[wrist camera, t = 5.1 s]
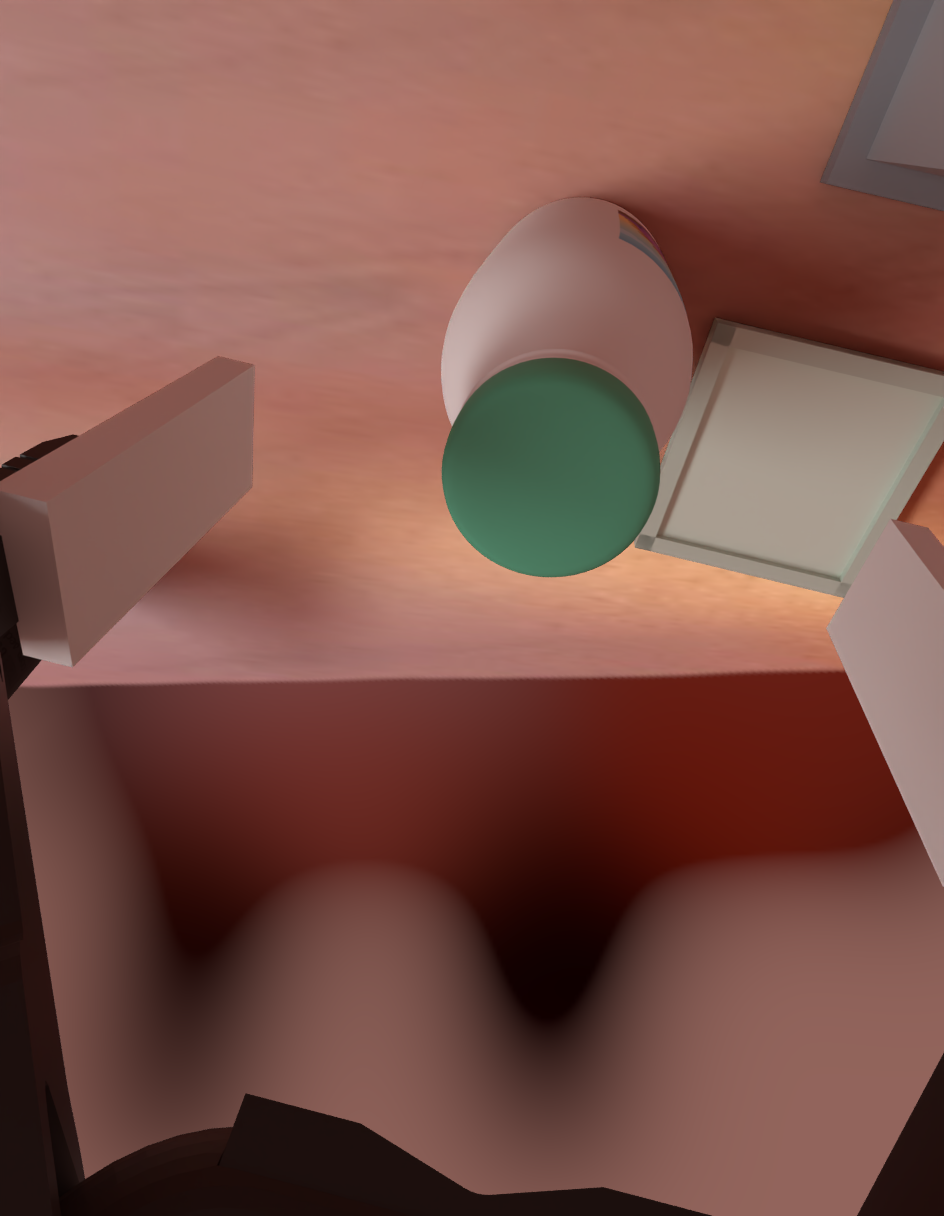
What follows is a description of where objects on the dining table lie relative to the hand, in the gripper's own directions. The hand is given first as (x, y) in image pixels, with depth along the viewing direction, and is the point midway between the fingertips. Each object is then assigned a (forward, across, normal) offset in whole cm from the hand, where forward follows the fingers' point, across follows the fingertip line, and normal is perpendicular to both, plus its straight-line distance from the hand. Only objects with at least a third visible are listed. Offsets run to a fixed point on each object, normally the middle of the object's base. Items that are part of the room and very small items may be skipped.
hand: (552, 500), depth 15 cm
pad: (+20, +11, -5) cm, 23 cm away
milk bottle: (+20, 0, 0) cm, 20 cm away
